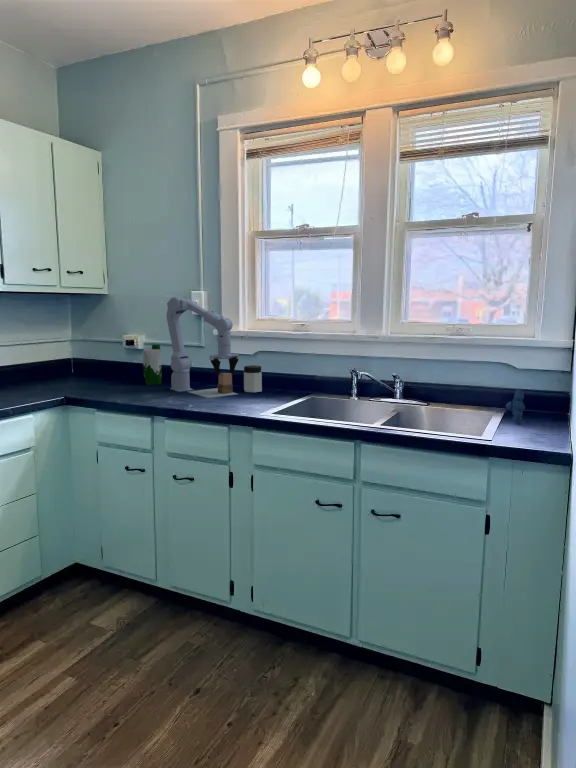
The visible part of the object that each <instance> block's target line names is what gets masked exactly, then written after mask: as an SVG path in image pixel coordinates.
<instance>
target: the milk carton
mask: <svg viewBox="0 0 576 768" xmlns="http://www.w3.org/2000/svg"><path fill="white" fill-rule="evenodd" d="M142 352H143V354H142V359H143V360H142V365H143V366H142V367H143V369H142V370H143V377H144V380H145V384H146V386H154V385H155V386H159V385H161V384H162V375H163V372H162V370H163V369H162V368H163V367H162V366H163V365H162V354H161V345H160V344H152V345H151V347H149V348H143V351H142Z"/></svg>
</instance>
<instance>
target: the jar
mask: <svg viewBox="0 0 576 768" xmlns="http://www.w3.org/2000/svg"><path fill="white" fill-rule="evenodd" d="M262 376H263V375H262V365H254V364H253V365H251V364H250V365H245V366H243V390H244V392H245V393H258V392H260V393H261V392H262V391H263V385H262V383H263V380H262V379H263V377H262Z"/></svg>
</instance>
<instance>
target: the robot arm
mask: <svg viewBox="0 0 576 768" xmlns="http://www.w3.org/2000/svg"><path fill="white" fill-rule="evenodd" d="M166 307H167V311H166V315H165V317H166V320H167V321H166V322H167V325H168V331H169V332H168V333H169V336H170V342H171V347H172V351H173V353H172V355H171V356H170V361H171V362H170V368H171V370H172V371H173V372H172V373H171V375H170V378H171V380H170V381H171V387H170V388H169V389H170V390H171V391H172V390H173V391H175V392H188V391H194V389H193V388H191V386H190V385H191V384H190V381H191V379H190V371H191V370H190V369H191V368H192V366H193V361H192V359H191V358H190V356H189V353H188V352H187V351H186V349H185V343H184V339H183V335H182V334H183V333H182V328H181V323H180V317H181V316H182V314H184V313H185V312H186V311H191V312H193V313H195V314H197V315H199V316H201V317H203V321H204V322H206V323H207V324H209V325H210V326H213V327H214V328H215V329H216V331H217V353H218V354H212V355H209V360H210V363H211V365H212V366H213V370H214V372H215V376H218V375H219V374H220V373H221V371H220V368H221V367H220V366H221V360H224V359H225V360H226V359H227V360H228V363H229V373H232V375H234V374H235V369H236V365H237V363H238V362H239V359H240V354H239V353H232V352H231V351H232V349H231V346H232V345H231V343H232V342H231V339H232V338H231V330H232V329H233V322H232V320H231V319H230V318H228V317H227V318H225V317H224V316H223V315H219V314H218V313H217V312H216V311H215V310H213V309H212V310H211V309H210V310H206V309H205V308H204V307H202V306H201V305H198V304H197V303H196V302H194V301H193V300H192V299H190V298H187V297H186V296H183V297H171V298H170V299H169V300H168V302H167V304H166Z"/></svg>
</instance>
